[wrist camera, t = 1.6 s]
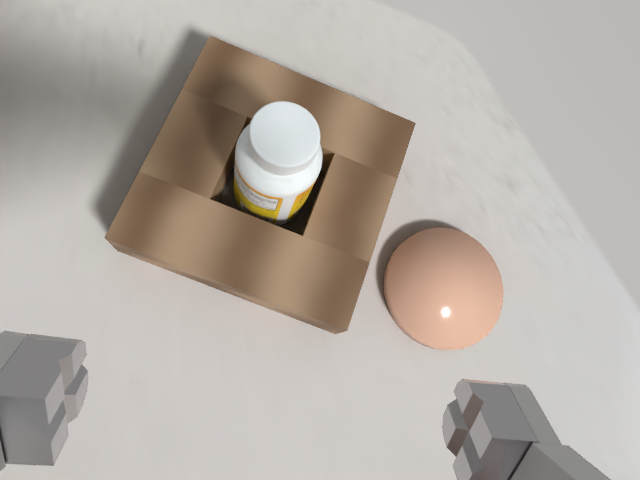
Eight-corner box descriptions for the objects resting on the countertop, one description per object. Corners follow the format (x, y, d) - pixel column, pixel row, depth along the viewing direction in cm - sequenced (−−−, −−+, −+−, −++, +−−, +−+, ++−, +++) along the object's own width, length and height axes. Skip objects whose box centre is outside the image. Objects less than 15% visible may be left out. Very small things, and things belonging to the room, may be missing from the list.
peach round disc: (367, 323, 34) (371, 322, 33) (403, 213, 37) (407, 209, 36) (480, 367, 35) (488, 367, 34) (507, 256, 38) (514, 253, 37)
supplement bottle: (242, 234, 34) (247, 187, 25) (226, 166, 35) (224, 96, 26) (314, 219, 35) (343, 169, 26) (296, 154, 36) (318, 83, 27)
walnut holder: (117, 250, 32) (104, 237, 29) (211, 65, 37) (209, 35, 34) (335, 333, 34) (347, 330, 30) (399, 144, 38) (415, 123, 35)
